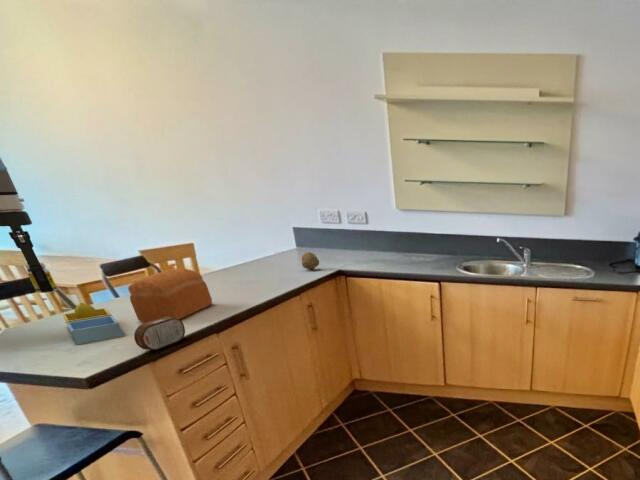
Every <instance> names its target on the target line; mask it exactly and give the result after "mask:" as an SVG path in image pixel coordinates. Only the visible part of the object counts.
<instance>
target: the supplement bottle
mask: <svg viewBox="0 0 640 480" xmlns="http://www.w3.org/2000/svg"><path fill="white" fill-rule="evenodd" d="M40 265H41V266H42V267H43V270H44V272H45V274H46V276H47V278H48V280H49V282H50V284H51V286H52V288H53V290H54V291H51V292H55V291H56V292H57V291H58V287H57V284H56V283H55V280H54V279H53V276H52V274H51V272H50V270H48V269H47V268H46V264H44V263H43V262H40ZM24 266H25V269H26V274H27V276H28V278H29V280H30V282H31V284H32V286H33V288H34V290H35V292H36V293H40V294H41V293H42V292H41V290H40V288H39V286H38V284H37V282H36V280H35V278H34V276H33V274H32V272H28V269H30V268H29V265H28V264H27V263H26V264H25V265H24ZM51 292H50V293H51ZM43 293H45V292H43ZM43 293H42V294H43Z"/></svg>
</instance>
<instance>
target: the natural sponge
mask: <svg viewBox="0 0 640 480" xmlns="http://www.w3.org/2000/svg"><path fill="white" fill-rule="evenodd" d="M319 265H320V260H319V259H318V256H317V255H316V254H314V253H313V252H311V251H308V252H304V253H303V254H302V256H301V266H302V267H303V268H304V269H305V270H308V271H313V270H315V268H317V267H319Z"/></svg>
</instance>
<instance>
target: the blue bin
mask: <svg viewBox="0 0 640 480" xmlns="http://www.w3.org/2000/svg"><path fill="white" fill-rule="evenodd" d="M66 325H67V327H68V329H69V331H70V334H71V335H72V337H73V339H74V341H75V342H76V345H84V344H89V343H94V342H99V341H104V340H110V339H115V338H121V337H124V336H125V334H124V333H123V332H124V331H123V329H122V328H121V325H120V323H119V322H118V320H117V319H116V318H115V317H114V316H113V315H112V316H107V317H101V318H94V319H88V320H82V321H76V322H70V323H66Z"/></svg>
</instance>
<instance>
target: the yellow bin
mask: <svg viewBox="0 0 640 480" xmlns="http://www.w3.org/2000/svg"><path fill="white" fill-rule="evenodd" d="M95 310H96V311H97V313H98V316H95V317H88V318H82V319H77V317H76V315H75V312H69V313H68V312H67V313H63V314H61V315H62V317H63V319H64V321H65V323H66V324H67V323H70V322H76V321H82V320H88V319H94V318H101V317H107V316H113V315H112V314H111V312H110V311H109V310H108V309H107V308H106V307H102V308H95Z"/></svg>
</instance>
